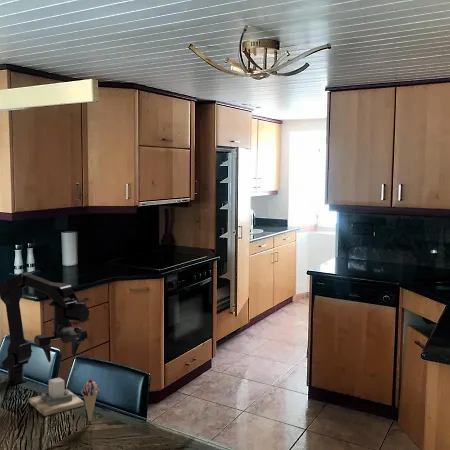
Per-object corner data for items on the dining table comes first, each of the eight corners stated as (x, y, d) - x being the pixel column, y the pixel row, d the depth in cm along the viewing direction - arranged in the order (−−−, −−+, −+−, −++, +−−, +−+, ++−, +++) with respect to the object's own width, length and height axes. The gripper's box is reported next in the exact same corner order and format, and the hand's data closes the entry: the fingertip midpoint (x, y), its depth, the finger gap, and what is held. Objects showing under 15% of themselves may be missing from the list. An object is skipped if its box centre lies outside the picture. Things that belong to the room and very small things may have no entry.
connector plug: (48, 399, 177) (48, 379, 177) (59, 396, 180) (59, 377, 180) (53, 403, 174) (53, 383, 174) (64, 400, 177) (64, 380, 177)
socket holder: (29, 402, 178) (29, 392, 178) (67, 392, 187) (67, 383, 187) (44, 416, 167) (44, 405, 167) (83, 405, 177) (83, 395, 176)
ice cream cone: (79, 422, 163) (79, 377, 162) (97, 419, 166) (97, 375, 165) (82, 430, 158) (82, 383, 157) (100, 427, 161) (101, 381, 160)
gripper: (45, 326, 175) (45, 370, 176) (95, 319, 187) (94, 360, 188) (33, 320, 183) (33, 362, 184) (81, 313, 196) (81, 353, 196)
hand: (61, 359), depth 188 cm, fingers open, 9 cm apart
